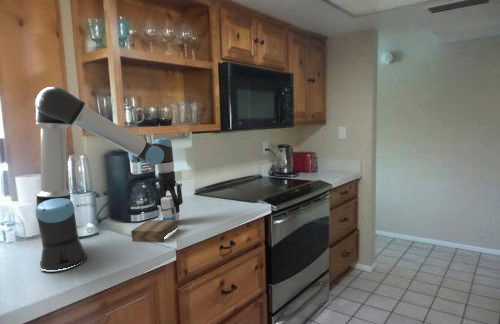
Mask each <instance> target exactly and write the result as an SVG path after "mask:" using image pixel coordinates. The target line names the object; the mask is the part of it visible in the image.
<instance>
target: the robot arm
mask: <svg viewBox="0 0 500 324" xmlns="http://www.w3.org/2000/svg"><path fill="white" fill-rule="evenodd" d="M34 108H35V124H36V125H37V126H38V127H39V128H40V191H38V193H36V208H35V217H36V219H37V225H38V229H39V233H40V238H41V244H42V251H41V258H40V259H41V260H40V262H39V266H40V267H39V268H40V269H41V268H42V269H46V270H58V269H63V268H68V267H71V266H74V265H77V264H79V263H81V262H83V261H84V260H86V261H87V259H88V254H87V251H86V249H84V247H83V244H82V242H81V240H80V238H79V231H78V226H77V225H78V224H77V220H76V215H75V213H76V212H75V205H74V203H73V200H71V192H70V191H69V190H68V189H67V129H68V128H69V127H70V126H77V127H79V128H81V129H83V130H86V131H87V132H89V133H91V134H92V135H94V136H97V137H98V138H100V139H101V140H104V141H106V142H107V143H109V144H111V145H113V146H115V147H117V148H119V149H121V150H123V151H125V152H127V154H128V158H129V162H131V163H134V164H138V163H145V164H149V165H151V166H154V165H155V166H156V165H157V167H156V168H157V171H158V173H157V175H158V183H156V184H154V185H153V189H154V190H155V201H156V205H157V206H160V210H161V211H160V212H161V213H162V206H161V198H163V197H165V196H167V192H169V193H170V195H171V196H172V198H173V201H174V204H175V206H174V216H175V220H177V221H178V219H180V212H181V211H180V206H182V204H183V203H184V200H183V194H182V193H183V191H182V187H183V184H182V183H178V182H177V181H176V175H175V174H176V173H175V172H176V171H174V170H175V163H174V153H173V152H174V151H173V144H172V140H171V138H169V137H162V138H161V137H160V138H155V139H154V143H150V142H148V141H146V140H145V139H143V138H141V137H139V136H137V135H136V134H135V133H133V132H131V131H129V130H127V129H126V128H124V127H122V126H121V125H119V124H117V123H115V122H114V121H111V120H110V119H108V118H107V117H105V116H103V115H101V114H99V113H97V112H96V111H94V110H93V109H91V108H89V107H88V106H87V103H85V102H84V101H82V100H81V99H79V98H78V97H76V96H75V95H74V94H71V93H70V92H69V91H67V90H65V88H64V89H63V88H62V87H59V86H48V87H45V88H44V89H42V90H41V91H40V92H39V93H38V94H37V96H36V97H35V100H34ZM178 213H179V215H178ZM83 263H84V262H83Z"/></svg>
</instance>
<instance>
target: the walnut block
mask: <svg viewBox="0 0 500 324" xmlns="http://www.w3.org/2000/svg"><path fill="white" fill-rule="evenodd" d="M176 228H178V229H179V225H178V219H177V220H163V219H148V220H147V221H145V222H144V223H142V224H140V225H139V226H137V227H135V228H133V229H132V230H131V231H130V233H131V241H132V242H136V243H138V242H139V243H163V242H165V241H164V237H165V236H166V235H167V234H168V233H170V232H172V231H173V230H175V229H176Z"/></svg>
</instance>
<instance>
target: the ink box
mask: <svg viewBox="0 0 500 324" xmlns="http://www.w3.org/2000/svg"><path fill="white" fill-rule="evenodd" d="M161 206H162V212H161V214H162V215H161V217H162V220H175V216H174V206H175V204H174V201H173V198H172V196H171V194H166V196H165V197H163V198H161ZM161 206H160V207H161ZM178 215H179V216H180V212H179V213H178Z"/></svg>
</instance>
